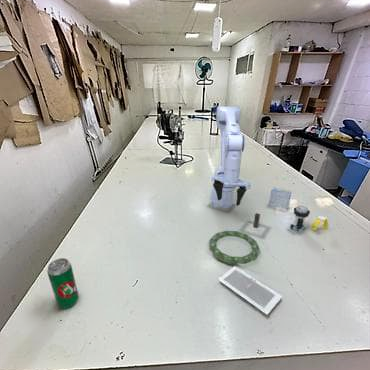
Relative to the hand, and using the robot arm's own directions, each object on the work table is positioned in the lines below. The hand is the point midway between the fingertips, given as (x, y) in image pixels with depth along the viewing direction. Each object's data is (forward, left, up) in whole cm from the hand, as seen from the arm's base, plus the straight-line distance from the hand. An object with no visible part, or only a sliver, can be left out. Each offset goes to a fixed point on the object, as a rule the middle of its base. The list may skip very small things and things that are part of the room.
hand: (228, 201), depth 91 cm
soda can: (-18, -57, -10) cm, 61 cm away
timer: (+31, +14, -8) cm, 35 cm away
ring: (+9, -14, -8) cm, 18 cm away
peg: (+11, +2, -9) cm, 15 cm away
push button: (+25, +10, -10) cm, 29 cm away
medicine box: (+14, +25, -10) cm, 30 cm away
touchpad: (+19, -28, -10) cm, 35 cm away
